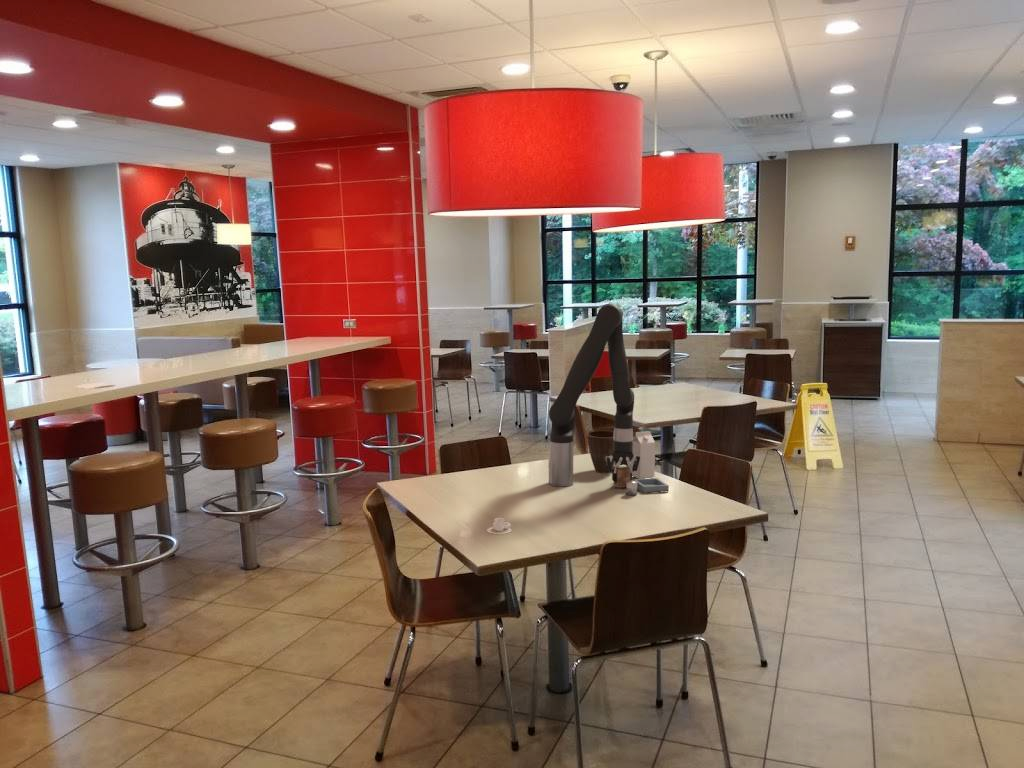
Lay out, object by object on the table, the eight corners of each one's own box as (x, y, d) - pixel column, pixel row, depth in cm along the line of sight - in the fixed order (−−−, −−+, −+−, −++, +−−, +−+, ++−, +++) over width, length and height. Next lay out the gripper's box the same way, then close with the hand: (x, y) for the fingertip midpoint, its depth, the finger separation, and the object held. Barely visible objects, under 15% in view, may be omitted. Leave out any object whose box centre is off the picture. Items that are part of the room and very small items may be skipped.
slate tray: (643, 493, 312) (643, 486, 312) (633, 485, 324) (633, 479, 324) (668, 491, 314) (668, 485, 314) (657, 484, 326) (657, 478, 326)
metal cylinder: (628, 496, 308) (628, 483, 308) (625, 493, 312) (625, 480, 311) (638, 495, 309) (638, 482, 308) (635, 493, 313) (635, 480, 312)
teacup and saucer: (506, 526, 272) (506, 514, 272) (518, 532, 266) (518, 520, 265) (482, 530, 268) (482, 517, 268) (493, 536, 261) (493, 524, 261)
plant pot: (619, 476, 340) (620, 437, 338) (584, 474, 343) (584, 436, 341) (623, 468, 354) (624, 431, 352) (589, 466, 358) (589, 430, 356)
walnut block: (617, 487, 318) (618, 469, 317) (613, 484, 323) (614, 466, 322) (630, 486, 319) (630, 469, 318) (625, 483, 324) (626, 466, 323)
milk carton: (630, 476, 339) (630, 431, 337) (644, 474, 342) (645, 429, 340) (639, 480, 333) (640, 434, 330) (654, 478, 336) (655, 432, 333)
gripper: (608, 441, 314) (607, 485, 316) (644, 440, 316) (642, 483, 319) (602, 437, 321) (601, 480, 323) (637, 436, 324) (636, 479, 326)
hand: (622, 481), depth 321 cm, fingers closed on walnut block, 5 cm apart
